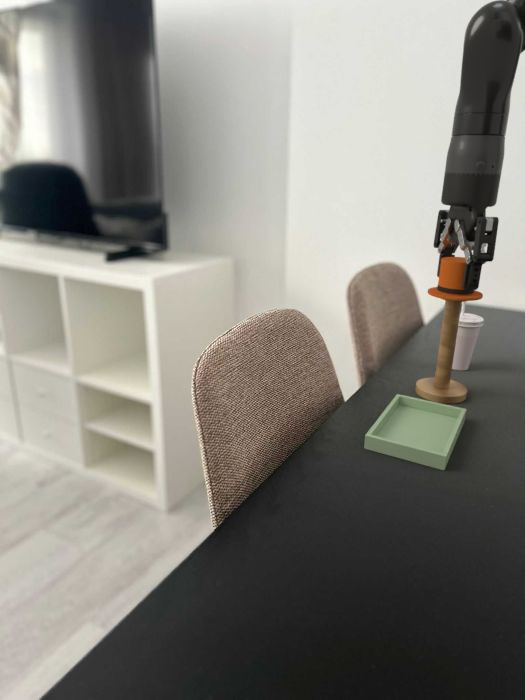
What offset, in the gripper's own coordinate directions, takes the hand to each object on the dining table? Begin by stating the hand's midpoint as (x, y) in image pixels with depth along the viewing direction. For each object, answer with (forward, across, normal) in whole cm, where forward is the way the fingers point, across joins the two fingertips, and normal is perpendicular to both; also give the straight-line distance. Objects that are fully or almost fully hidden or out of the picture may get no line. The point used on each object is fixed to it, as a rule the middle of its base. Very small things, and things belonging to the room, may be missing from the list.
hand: (456, 283), depth 78 cm
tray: (+18, -13, +9) cm, 24 cm away
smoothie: (+18, +11, -8) cm, 23 cm away
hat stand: (+18, 0, 0) cm, 18 cm away
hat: (+2, 0, 0) cm, 2 cm away
